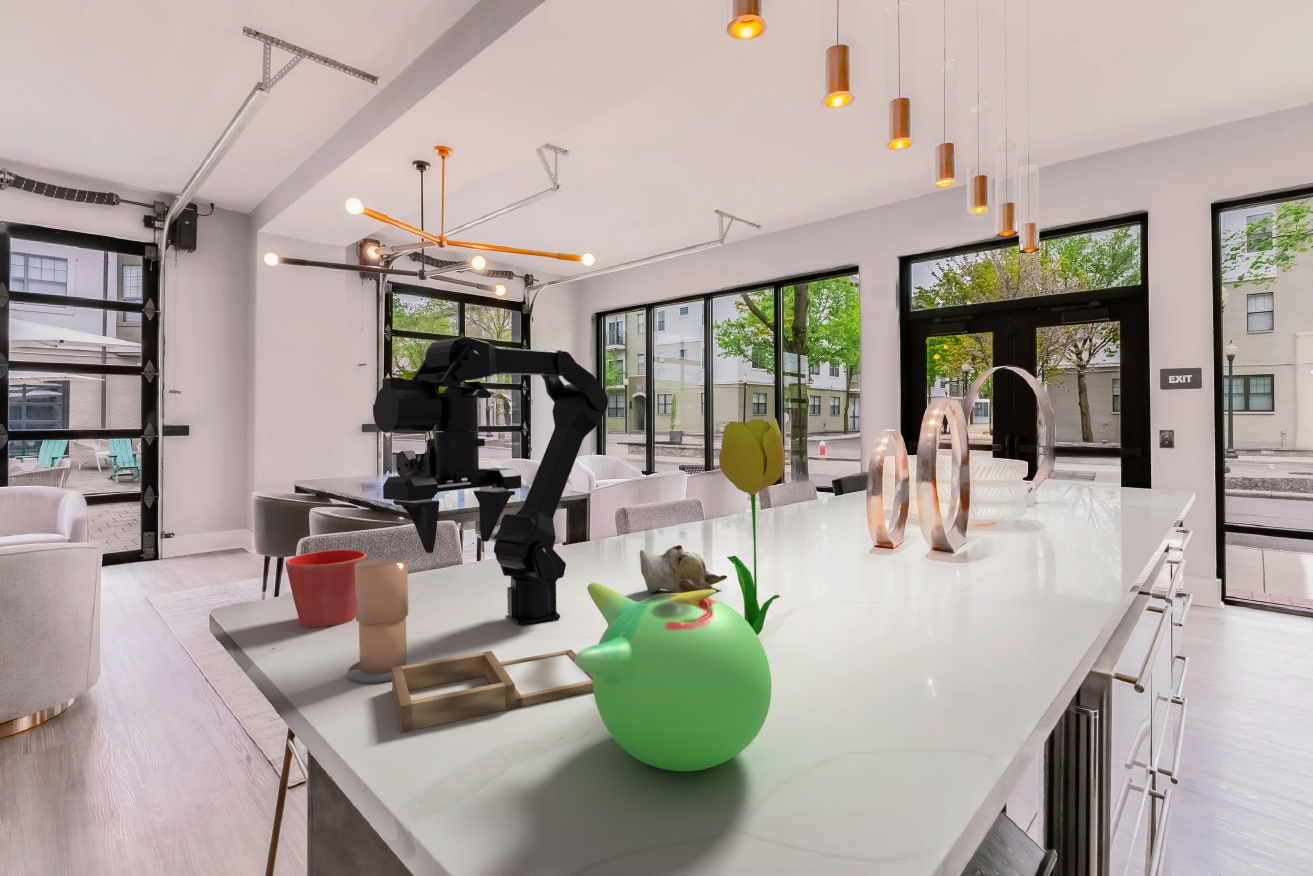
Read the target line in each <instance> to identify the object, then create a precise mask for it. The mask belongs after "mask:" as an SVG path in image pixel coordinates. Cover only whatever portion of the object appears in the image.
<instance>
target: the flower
mask: <svg viewBox="0 0 1313 876" xmlns="http://www.w3.org/2000/svg"><path fill="white" fill-rule="evenodd" d="M784 448H785V447H784V444H783V437H782V432H781V430H780V426H779V424H778V420H777V418H776V417H775V418H774V419H773V420H772V421H771V423H769V421H767V420H766V421H765V420H764V419H758V418H757V419H750V420H749V421H748V422H746V421H731V422H729V423H727V424H726V425H725V427H724V431H723V435H722V439H721V450H720V452H719V456H718V458H719V459H718V463H719V464H718V466H719V467H720V470H721V472H722V473H723V475H724V476H725V478H727V479H728V481H730V482H731V484H733V485H734V487H736V488H737V490H739V491H741V492H743V493H746V494H748V495H750V503H751V516H752V519H751V520H752V534H753V535H752V536H753V576H752V573H751V571H750V570H749V569H748V568H747V566H746V565H745V564H744V563H743V561H742V560H741V559H740V558H739V557H738V556H736V555H731V556H726V558H727V559H728V560H729V561H730V562H731V563H732V564H733V565H734V567H735V571H736V575H737V580H738V583H739V586H740V589H741V593H742V598H743V611H744V614H743V615H744V616H743V618H744V619H745V620H746V621H747V622H748V623H749V624H750V626H751V627H752V628H753V630H754V631H755V633H756V635H757V636H758V635H759V634H760V633H761V632H762V630H763V627H764V623H765V620H766V616H767V611H768V610H769V607H770V606H771V604H772V603H773V601H774V600H777V599H778V598H781V596H780V595H779V594H775V595H773V596H771V597H770V598H769V599H767V600H766V601H765V602H763V604H762V605H761V608H760V605H759V602H758V599H757V598H758V597H757V596H758V590H757V589H758V587H757V585H758V583H757V580H758V579H757V544H756V543H757V542H756V541H757V540H756V539H757V538H756V534H757V532H756V529H757V528H756V495H757V494H759V492H762V491H764V490H765V489H767V488H769V487H770V486H772V485H774V484H775V483H776V482H777V481H778V480H780V479H781V477H782V475H783V473H784V470H785V460H786V459H785V449H784Z"/></svg>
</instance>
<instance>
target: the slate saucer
mask: <svg viewBox="0 0 1313 876" xmlns="http://www.w3.org/2000/svg"><path fill="white" fill-rule="evenodd" d="M416 663H418V660H417V659H416V657H414V656H412V655H408V654H407V664H406V665H410V664H416ZM347 678H348V679H349V680H350V681H351V682H354V683H357V684H363V685H364V684H368V685H369V684H370V685H372V684H373V685H374V684H381V683H383V684H384V683H388V682H392V672H388V673H383V674H366V673H363V672H361V671H360V661H358V662H356V663H354V664H352V665H351V666H350V667H349V669H348V671H347Z"/></svg>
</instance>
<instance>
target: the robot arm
mask: <svg viewBox="0 0 1313 876" xmlns="http://www.w3.org/2000/svg"><path fill="white" fill-rule="evenodd" d="M495 375H502V376H503V375H511V376H513V375H514V376H540V377H541V378H542V380H543V381H544V386H545V389H546V394H547V395H548V396H549V397H550V399H551V401H553V403H554V404H553V406H552V407H553V408H552V412H551V413H552V419H553V423H554V429H553V431H552V434H551V436H550V439H549V441H548V443H547V446H546V449H545V452H544V454H543V457H542V459H541V461H540V464H539V466H538V469H537V471H536V474H535V476H534V479H533V480H532V483H531V486H530V488H529V491H528V494H527V496H526V498H525V500H524V503H523V505H522V507H521V508H520V509H519V510H518V512H517V513H515V514H511V513H505V514H504V516H503V517H502V518H501V522H500V526H499V529H498V530H497V533H495V535H494V536H493V539H495V542H494V546H493V553H494V555H495V559H496V560H497V563H498V564H499V565H500V569H501V572H502V574H503V576H504V577H510V586H508V587H507V588H506V591H507V596H506V597H507V614H508V615H509V616H510V617H511V618H512V620H513V621H514V623H516V624H517V625H525V624H533V623H539V622H544V621H545V622H546V621H553V620H559V619H560V618H561V614H560V613H558V611H557V581H558V580H560V579H561V578H564V576H565V572H566V567H567V563H566V561H565V560H563V558H562V557H561V556H560V555H559V554H558V553H557V552H556V551H555V550H554V546H555V542H556V538H557V536H556V531H555V530H556V529H555V525H554V524H555V523H554V516H555V514H556V512H557V509H558V506H559V504H560V501H561V498H562V496H563V493H564V491H565V487H566V486H567V483H568V481H569V477H570V475H571V472H572V469H573V468H574V465H575V462H576V459H577V456H578V454H579V451H580V450H581V446H582V444H583V442H584V439H585V437H586V436H588V435H589V434H590V433H591V432H592V431H593V430H594V429H595V428H597V427H598V425H600V422H601V421H602V419H603V417H604V415H605V414H606V411H607V410H608V405H609V399H608V395H607V392H606V391H605V389H604V387H603V386H602V385H601V384H600V383H599V381H598V379H597V378H596V377H595V376H594V375H593V374H592V373H591V372H590V371H588V370H587V369H586V368H585V367H583V366H581V365H580V364H578V363H577V362H576V360H575V359H574V358H573V356H572V355H571V354H570V353H569V352H568V351H565V350H563V349H559V350H558V349H557V350H541V349H540V350H539V349H538V350H537V349H521V348H505V347H499V346H496V345H495V346H494V345H493V344H491V343H490V342H488V341H485V340H482V339H479V338H478V339H477V338H474V337H471V336H463V337H456V338H448V339H442V340H435V341H433V342H432V343H431V344H430V345H429V346H428V348H427V350H426V353H425V359H424V360H423V362H422V363H421V364H420V366H419V368H418V369H417V370H416V372H415V373H414V375H413V376H412V378H411V379H405V378H402V377H394V376H392V377H384V378H382V380H381V381H382V385H381V388H380V390H378V392H377V393H376V396H375V401H374V404H372V415H373V420H374V422H375V423H374V424H375V425H376V427H377V429H378V430H379V431H381V433H385V434H389V433H390V434H392V433H427V432H428V433H429V432H430V431H432V430H433V439H429V438H428V439H427V443H426V449H425V450H426V451H425V452H423V453H416V451H415V450H401V451H400V452H398V453H396V460H395V462H396V463H395V467H396V471H397V474H398V475H396V476H395V475H393V476H388V477H387V479H386V480H385V482H384V483H383V486H382V499H383V500H392V502H393V504H394V506H400V507H402V508H403V510H405V511H406V512H407V513H408V514H409V517H410V519H411V520H412V522H413V525H414V527H415V529H416V532H417V534H418V537H419V540H420V542H421V543H422V546H423V549H424V551H425V553H427V554H432V553H433V552H434V550H435V545H436V540H437V538H436V537H437V529H438V519H439V510H440V501H439V500H433V499H434V498H435V497H436V495H437V494H438V493H440V492H450V491H459V490H460V491H461V490H468V489H475V488H476V489H477V488H478V489H479V490H473V491H472V492H473V494H474V496H475V499H477V501H478V502H477V503H478V504H479V505H478V506H479V507H478V510H479V511H478V512H479V532H480V540H481V541H482V542H485V543H486V542H487V543H488V542H489V540H490V538H491V537H492V534H493V532H494V530H495V527H496V526H497V523H498V521H499V520H500V517H501V514H502V513H503V511H504V509H505V507H506V505H507V504H508V503H509V500H510V499H511V498H512V496H515V494H516V491H515V490H514V489H521V488H522V474H521V473H520V472H519V471H518V469H517V468H504V467H503V468H502V467H492V468H480V458H479V455H480V451H479V447H485V446H486V442H485V441H486V439H485V438H479V403H478V401H479V399H480V400H481V399H491V397H492V393H491V392H490V391H489V390H488V389H486V388H485V387H484V386H483V385H482V383H481V382H480V380H479V381H478V379H484V378H488V377H491V376H495ZM560 376H561V377H562V378H563V380H564V381H566V382H568V383H569V384H564V382H563V381H562V380H561V378H560ZM473 380H475V381H473ZM476 380H477V381H476ZM464 381H468V383H467V384H466V385H461V384H462V383H463V382H464ZM440 388H445V389H444V390H443V391H442V392H440ZM433 554H434V553H433Z"/></svg>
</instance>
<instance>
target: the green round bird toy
mask: <svg viewBox="0 0 1313 876" xmlns="http://www.w3.org/2000/svg"><path fill="white" fill-rule="evenodd" d="M586 588H587V592H588V595H589V596H590V598H591V600H592V601H593V602H594V604H595V606H596V608H597V609H598V610H599V612H600V613H601V615H602V617H603V618H604V619H605V621H606V623H607V625H608V626H607V628H606V629H605V631H604V632H603V634H602V636H601V637H600V640H599V642H598V644H596V645H595V644H594V645H592V646H588V647H586V648H584V649H582V650H580V651H579V652H578V653H576V657H575V663H576V665H577V666H578V667H579V668H580V669H582V670H584V671H586V672H588V673H590V674H592V675H593V690H594V691H593V694H594V700H595V704H596V708H597V711H598V713H599V716H600V718H601V721H602V723H603V725H604V726H605V728H606V730H607V731H608V733H609V734H610V736H611V737H612V738H613V739H614V741H615V742H616V744H618V745H619V747H621V748H622V749H623V750H624V751H625V752H626V753H627V754H629V755H630V756H631V757H633V758H634V759H636V760H638V761H640V762H641V763H643V764H647V765H649V766H651V767H654V768H658V769H662V770H667V771H671V772H672V771H673V772H694V771H700V770H701V771H702V770H706V769H709V768H710V769H711V768H713V767H717V766H719V765H721V764H723V763H726V762H727V761H729V760H731V759H733V758H734V757H736V756H737V755H739V754H740V753H741V752H742V751H744V750H745V749H747V747H749V746H750V744H751V743H753V741H754V740H755V739H756V737H757V736H758V735H759V733H760V732H761V730H762V728H763V726H764V724H765V722H766V720H767V718H768V717H767V716H768V713H769V709H770V705H771V700H772V675H771V670H770V669H771V668H770V664H769V660H768V657H767V654H766V651H765V648H764V646H763V643H762V642H761V640H760V638H759V636H758V635H756V633H755V631H754V630H753V628H752V627H751V626H750V624H749V623H748V622H747V621H746V620H745V618H744V616H742V615H741V614H740V613H739V612H738V611H736V610H735V609H734V608H733V607H731V606H730V605H728V604H726V603H724V602H723V601H720V600H718V599H715V598H713V597H711V596H713V595H714V594H717V593H716V592H717V591H716V590H699V591H692V592H685V593H674V592H671V593H664V592H663V593H658V594H655V595H651V596H650V597H648V598H646V599H643V600H640V601H635V600H634V599H630V598H629V597H626V596H625V595H623V594H621V593H619V592H617V591H615V590H613V589H611V588H610V587H608V586H605V585H602V584H600V583H597V582H591V583H589V584H588V585H587V587H586Z"/></svg>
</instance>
